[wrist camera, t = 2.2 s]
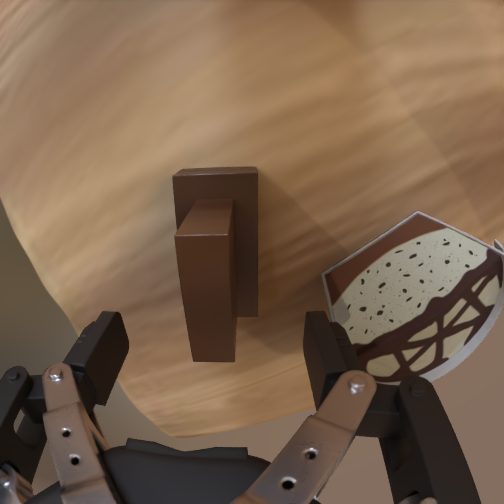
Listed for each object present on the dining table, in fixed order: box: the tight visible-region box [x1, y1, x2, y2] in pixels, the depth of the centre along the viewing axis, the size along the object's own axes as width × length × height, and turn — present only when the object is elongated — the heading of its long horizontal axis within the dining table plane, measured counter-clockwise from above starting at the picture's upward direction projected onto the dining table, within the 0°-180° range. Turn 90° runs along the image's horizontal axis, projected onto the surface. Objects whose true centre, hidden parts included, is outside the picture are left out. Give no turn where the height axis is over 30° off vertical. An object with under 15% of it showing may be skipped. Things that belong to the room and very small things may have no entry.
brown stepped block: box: [173, 167, 258, 362], centre depth 17 cm, size 10×5×9 cm, turn 1°
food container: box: [321, 211, 504, 385], centre depth 18 cm, size 12×6×10 cm, turn 125°
